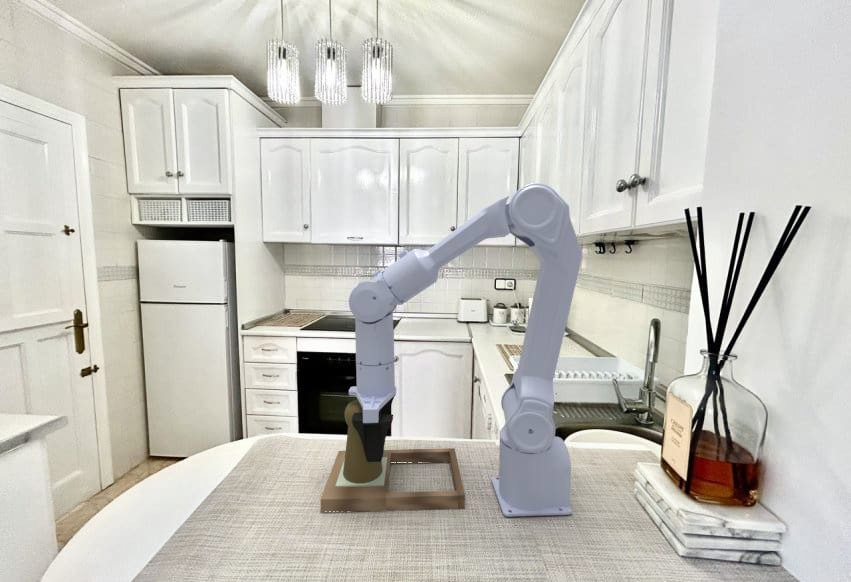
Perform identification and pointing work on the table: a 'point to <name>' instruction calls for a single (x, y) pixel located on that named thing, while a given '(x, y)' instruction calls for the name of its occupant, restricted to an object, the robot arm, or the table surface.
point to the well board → (376, 494)
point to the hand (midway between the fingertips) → (377, 446)
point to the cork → (357, 452)
